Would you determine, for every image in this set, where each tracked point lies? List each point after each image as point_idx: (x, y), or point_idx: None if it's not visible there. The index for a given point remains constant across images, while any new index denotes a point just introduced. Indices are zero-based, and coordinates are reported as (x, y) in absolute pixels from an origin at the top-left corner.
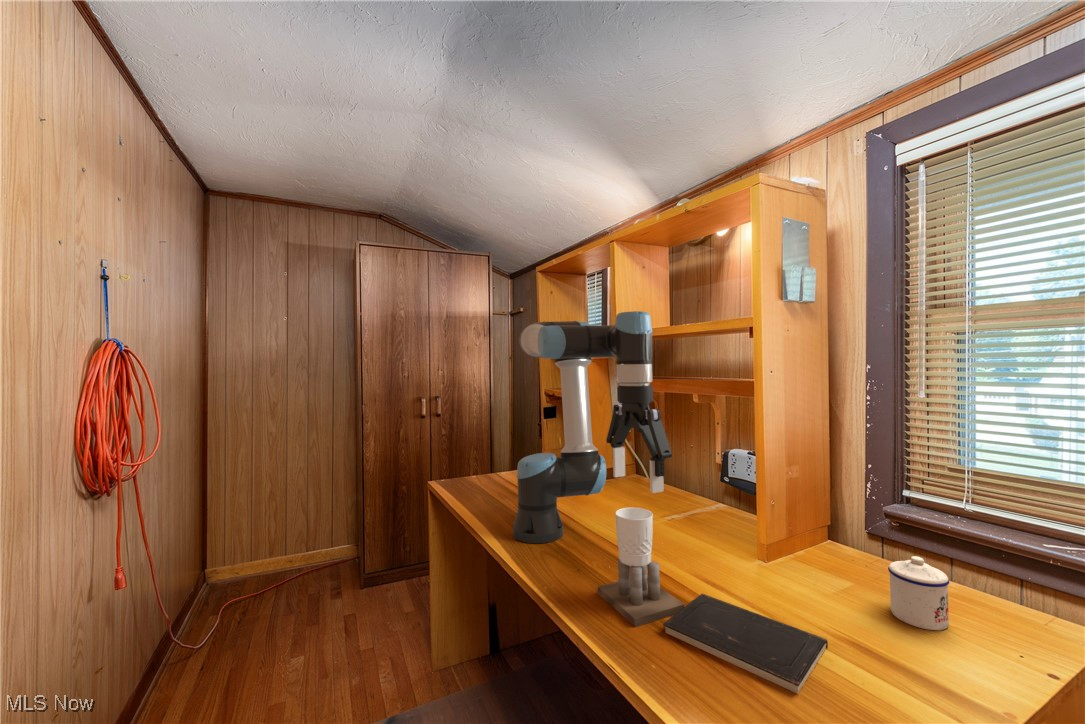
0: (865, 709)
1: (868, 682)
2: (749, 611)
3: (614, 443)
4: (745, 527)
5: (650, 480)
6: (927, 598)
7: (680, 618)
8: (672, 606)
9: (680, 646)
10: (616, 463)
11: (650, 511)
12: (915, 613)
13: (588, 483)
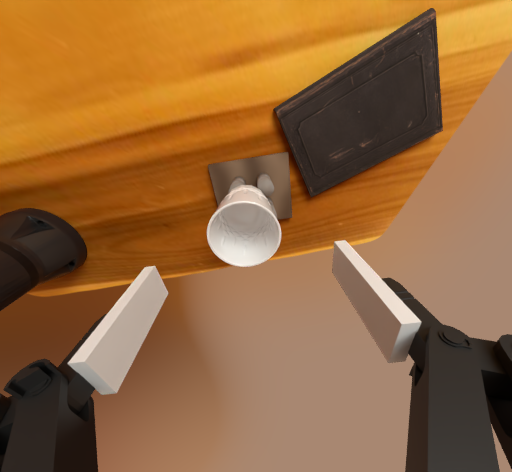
0: (484, 79)
1: (479, 28)
2: (338, 74)
3: (92, 423)
4: None
5: (348, 294)
6: None
7: (311, 175)
8: (286, 169)
9: (332, 190)
10: (146, 324)
11: (245, 202)
12: None
13: None
